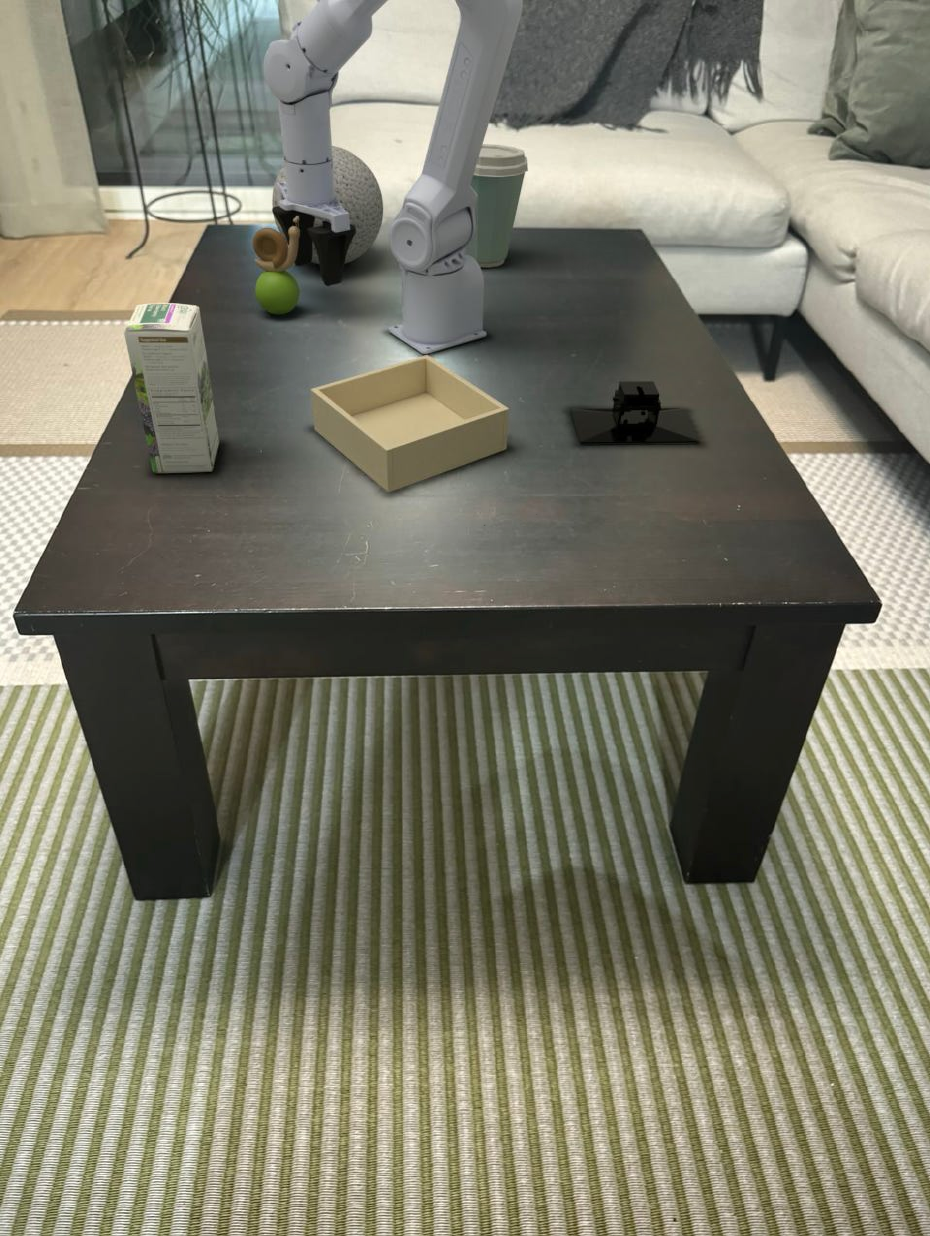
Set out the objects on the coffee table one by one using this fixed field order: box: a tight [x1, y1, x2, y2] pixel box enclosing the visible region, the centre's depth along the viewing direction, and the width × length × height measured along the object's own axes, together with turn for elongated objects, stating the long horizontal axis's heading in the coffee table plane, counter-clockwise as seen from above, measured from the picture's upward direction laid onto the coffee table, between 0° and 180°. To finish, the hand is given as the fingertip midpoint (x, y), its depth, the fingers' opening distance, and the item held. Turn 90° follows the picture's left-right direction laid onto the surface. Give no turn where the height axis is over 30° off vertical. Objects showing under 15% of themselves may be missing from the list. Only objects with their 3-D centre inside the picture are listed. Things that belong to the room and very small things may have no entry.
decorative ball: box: [271, 145, 384, 265], centre depth 125 cm, size 15×15×15 cm
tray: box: [310, 354, 510, 493], centre depth 92 cm, size 14×14×5 cm
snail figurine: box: [252, 216, 300, 315], centre depth 112 cm, size 5×6×12 cm
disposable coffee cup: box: [465, 143, 529, 268], centre depth 127 cm, size 11×11×15 cm
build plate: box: [569, 380, 700, 446], centre depth 95 cm, size 12×7×5 cm, turn 93°
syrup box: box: [123, 302, 220, 474], centre depth 85 cm, size 6×6×14 cm
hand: (317, 273), depth 116 cm, fingers open, 7 cm apart
